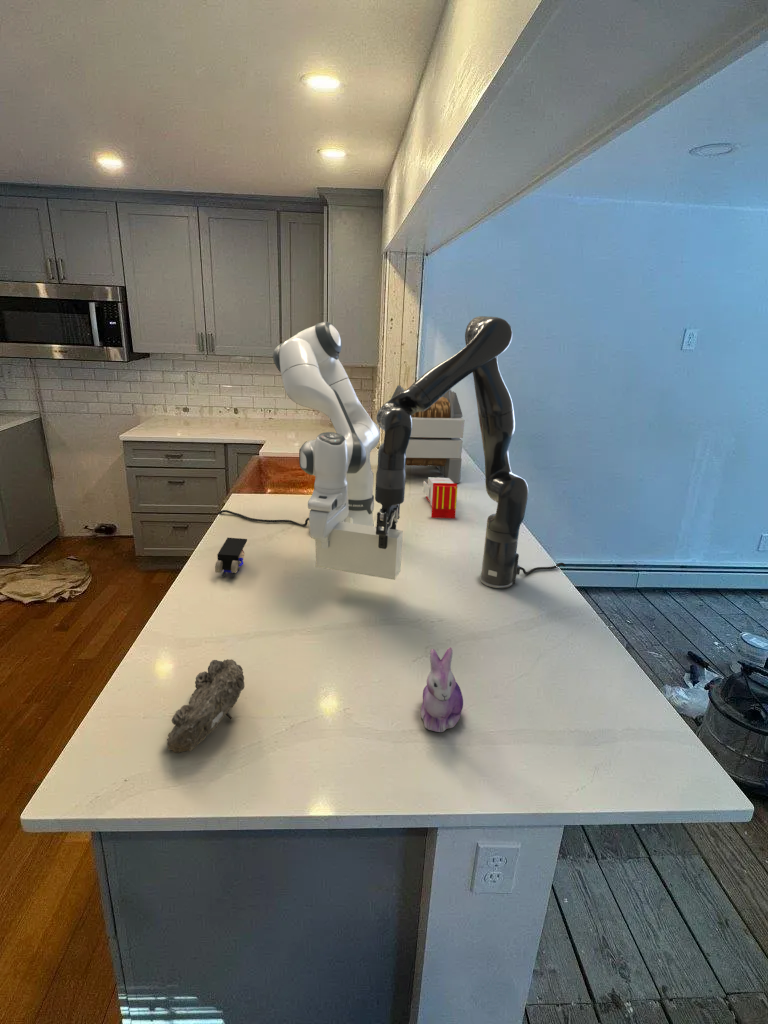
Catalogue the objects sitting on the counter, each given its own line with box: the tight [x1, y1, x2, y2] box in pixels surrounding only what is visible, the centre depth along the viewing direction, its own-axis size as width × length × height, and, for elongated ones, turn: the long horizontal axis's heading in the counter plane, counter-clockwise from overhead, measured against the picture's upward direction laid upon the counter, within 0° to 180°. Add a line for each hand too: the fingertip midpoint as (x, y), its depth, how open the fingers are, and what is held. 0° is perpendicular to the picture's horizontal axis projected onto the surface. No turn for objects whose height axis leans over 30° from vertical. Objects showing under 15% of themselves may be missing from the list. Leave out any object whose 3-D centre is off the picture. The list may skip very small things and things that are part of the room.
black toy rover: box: [214, 537, 248, 578], centre depth 166 cm, size 7×8×15 cm
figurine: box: [420, 647, 464, 733], centre depth 108 cm, size 9×10×15 cm
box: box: [315, 522, 404, 581], centre depth 153 cm, size 23×6×12 cm, turn 74°
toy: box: [422, 476, 458, 519], centre depth 227 cm, size 12×13×30 cm
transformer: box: [390, 384, 465, 484], centre depth 268 cm, size 34×33×41 cm
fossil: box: [166, 658, 245, 754], centre depth 106 cm, size 22×10×15 cm
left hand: (330, 542), depth 155 cm, fingers closed on box, 6 cm apart
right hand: (387, 542), depth 150 cm, fingers open, 8 cm apart
